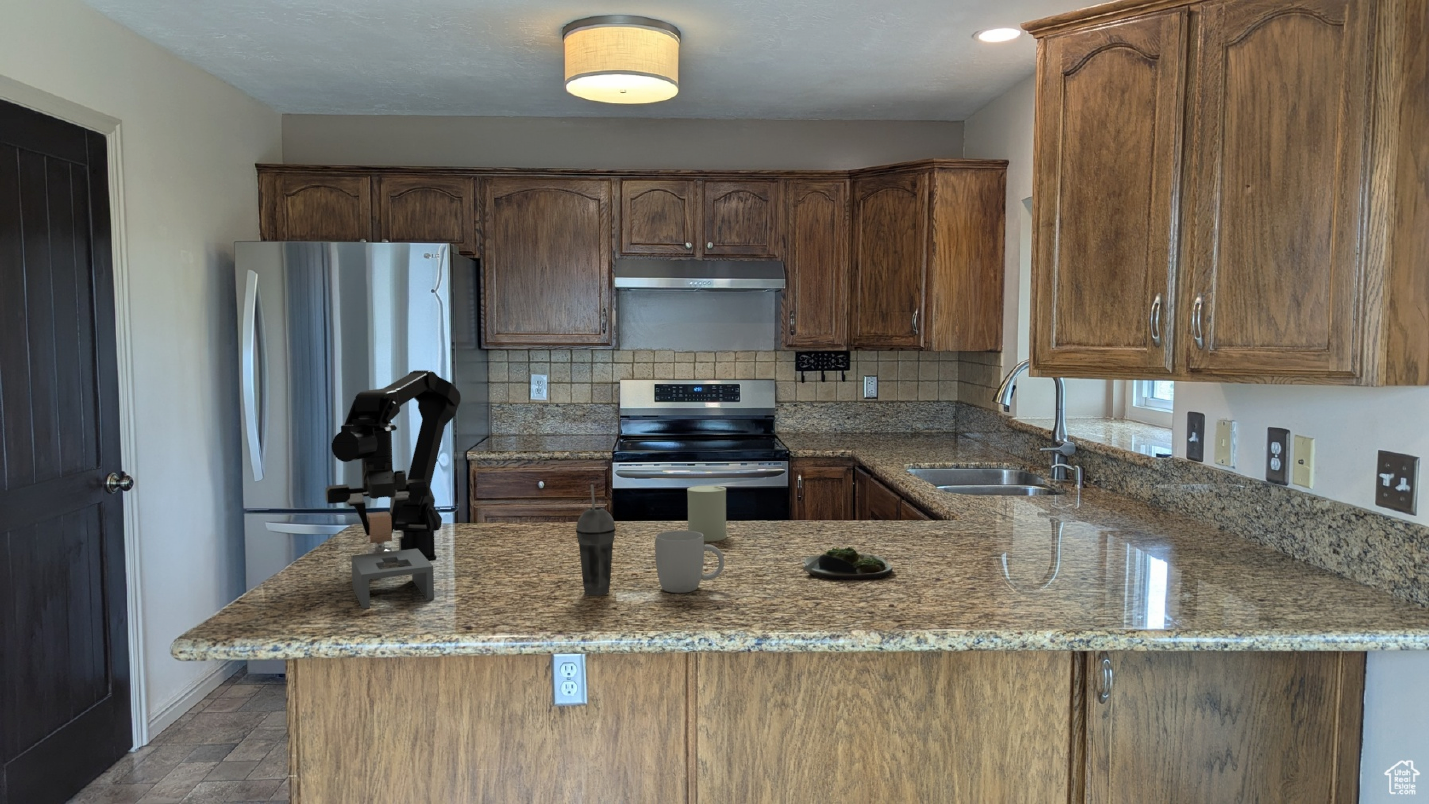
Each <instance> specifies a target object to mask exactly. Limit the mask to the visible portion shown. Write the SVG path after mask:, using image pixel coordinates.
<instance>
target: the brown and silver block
mask: <svg viewBox="0 0 1429 804" xmlns="http://www.w3.org/2000/svg"><path fill="white" fill-rule="evenodd" d="M366 514H367V520H368V526H369V536H367V535H366V539H367V541H368V542H369V543H370V544H374V548H373V547H372V548H369V549H368V550H367V554H372V553H381V552H391V551H393V550H392V548H391V547H387V546H385V543H386V542H393V533H392V523H391V515H390V512H389V511H380V512H379V511H378V512H366Z"/></svg>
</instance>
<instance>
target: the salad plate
mask: <svg viewBox="0 0 1429 804" xmlns="http://www.w3.org/2000/svg"><path fill="white" fill-rule="evenodd" d="M804 565H805V566H804V567H803V569H802V571H805V572H806V573H809V574H811V575H812V576H813V577H815V578H818V579H823V580H829V581H873V580H881V579H885V578H887V577H889V576H890V575H891V574H892V573H893V566H891V565H890V564H889V563H888V562H887V561H886V560H885V559H884V558H882V557H881V556H880V555H879V556H878V555H875V554H865V553H859V552H857V551H856V549H855V548H853V547H850V546H848V547H845V548H840V546H836V547H832V548H831V549H828V550H827V551H826V552H824V553H823V554H820V555H812V556H808V557H806V558H804Z"/></svg>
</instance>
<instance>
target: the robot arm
mask: <svg viewBox="0 0 1429 804" xmlns="http://www.w3.org/2000/svg"><path fill="white" fill-rule="evenodd" d="M412 399H414V400H416V402H417V403H418V405H417V409H418V412H419V414H420V417H421V423H420V428H419V432H418V436H417V440H416V444H415V447H414V451H413V457H412V460H411V464H410V467H409V471H408V475H407V474H406V473H407V472H406V470H394V468H393V464H394V463H393V438H392V437H393V435H392V433H393V431H394V432H395V431H397V429H398V427H397V425H396V424H394V423H393V422H391V421H392V420H393V419H394V418H395V417H396V416H397V415H398V414H399V413H400V412H401V406H403V405H404V404H406V403H407V402H409V401H411V400H412ZM461 400H462V399H461V393H460V391H459V390H458V388H456V386H455V385H454V384H453V383H452V382H450V381H448V380H446V379H444V378H443V377H440V376H439V375H437V374H436V372H435V371H432V370H426V369H425V370H424V369H423V370H416V369H415V370H413V371H410V372H409V373H408V375H405V376H404V377H402V378H400V379H398V380H397V381H394V382H392V383H390V384H389V385H387V386H385V387H383V388H377V389H376V388H375V389H368V390H364V391H360V392H359V393H357V394H356V395H355V398H354V400H353V402H352V404H351V406H350V409H349V412H348V414H347V416H346V420H345V422H344V424H342V425H340V432H338V433H337V434H336V435H335V436H334V438H333V439H332V443H331V451H332V454H333V456H335V458H337V460H339V462H343V463H348V462H353V461H358V460H361V461H360V462H361V487H360V486H359V487H350V486H349V485H348V484H347V483H345V484H333V485H331V484H330V485H327V487H326V488H325V491H324V492H325V501H326V502H327V504H341V503H342V504H343V503H344V504H345V503H346V504H347V505H348V507H354V510H355V511H356V514H358V517H359V519H360V522H361V525H362V527H363V530H364V533H365V535H366V537H367V536H369V526H368V520H367V514H366V513H367V509H366V508H367V507H366V505H367V504H366V502H365V501H364V498H365V497H369V498H370V499H373V500H375V499H377V500H378V499H379V498H387V497H388V498H389V499H390V500H389V501H390V502H389V503H390V504H389V514H390V515H391V523H392V534H393V532H394V531H395V532H396V531H398V532H399V531H400V532H401V533H400V534H401V536H399V537H398V551H400V550H409V549H419V551H420V552H421V553H422V554H423V555H424V556H425V557H426V559H427V560H428V561H429V560H436V559H438V558H437V555H436V554H435V553H436V552H435V548H436V547H435V532H436V531H439V530H440V529H441V528H442V523H443V517H442V516H441V515H440V512H438V510H437V509H436V507H435V504H436V499H435V495H434V493H433V491H432V486H431V485H432V481H433V477H434V472H435V470H436V465H437V460H438V457H439V453H440V448H441V443H442V439H443V435H444V431H445V427H446V426H447V424H448V423H449V422H450V421H452V419H453V418H454V417H455V416H456V413H457V411H458V408H459V405H460V403H461Z"/></svg>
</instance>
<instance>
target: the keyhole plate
mask: <svg viewBox="0 0 1429 804" xmlns="http://www.w3.org/2000/svg"><path fill="white" fill-rule="evenodd" d="M391 563H396V564H397V565H398V566H399V567H390V568H384V567H385V564H391ZM406 565H407V566H406ZM407 575H408V576H410V575H411V580H412V582H413V583H414V584H415V586H416V587H417V589H418V590H419V591H420V592H421V594H422V596H423V597H424V598H425V599H426V601H431V600H435V588H434V587H435V583H434V578H435V577H434V575H435V574H434V565H433V564H432V563H431V562H430V561H429V560H427V559H426V557H425V556H424V555H423V554H422V553H421V552H420V551H419V549H409V550H400V551H399V550H392V551H391V552H381V553H372V554H368V553H363V554H355V555H351V581H352V589H353V592H354V594H355V595H356V597H357V600H358V602H359V604H360V606H361V608H362V610H365V609H370V608H371V602H370V601H371V598H370V595H371V593H370V580H375V579H377V580H378V579H383V578H393V577H399V576H407Z"/></svg>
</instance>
